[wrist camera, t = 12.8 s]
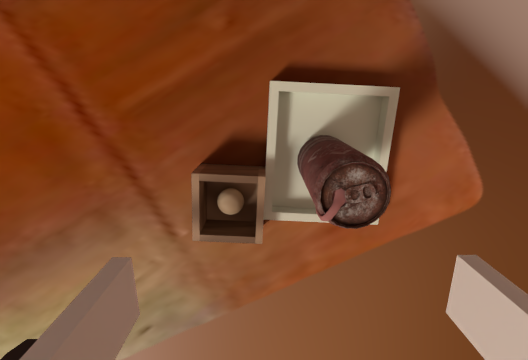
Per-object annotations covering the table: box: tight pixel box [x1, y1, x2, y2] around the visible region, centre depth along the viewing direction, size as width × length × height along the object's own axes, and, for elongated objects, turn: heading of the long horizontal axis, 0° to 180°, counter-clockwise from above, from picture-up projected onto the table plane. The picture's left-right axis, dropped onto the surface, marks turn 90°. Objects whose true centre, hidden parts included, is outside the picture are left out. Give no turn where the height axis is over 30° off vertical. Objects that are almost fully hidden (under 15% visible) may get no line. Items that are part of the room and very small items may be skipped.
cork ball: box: [217, 188, 244, 215], centre depth 36 cm, size 3×3×3 cm
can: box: [297, 135, 391, 229], centre depth 30 cm, size 6×6×14 cm
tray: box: [263, 81, 400, 225], centre depth 36 cm, size 16×14×3 cm
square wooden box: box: [192, 163, 266, 244], centre depth 36 cm, size 8×8×5 cm
